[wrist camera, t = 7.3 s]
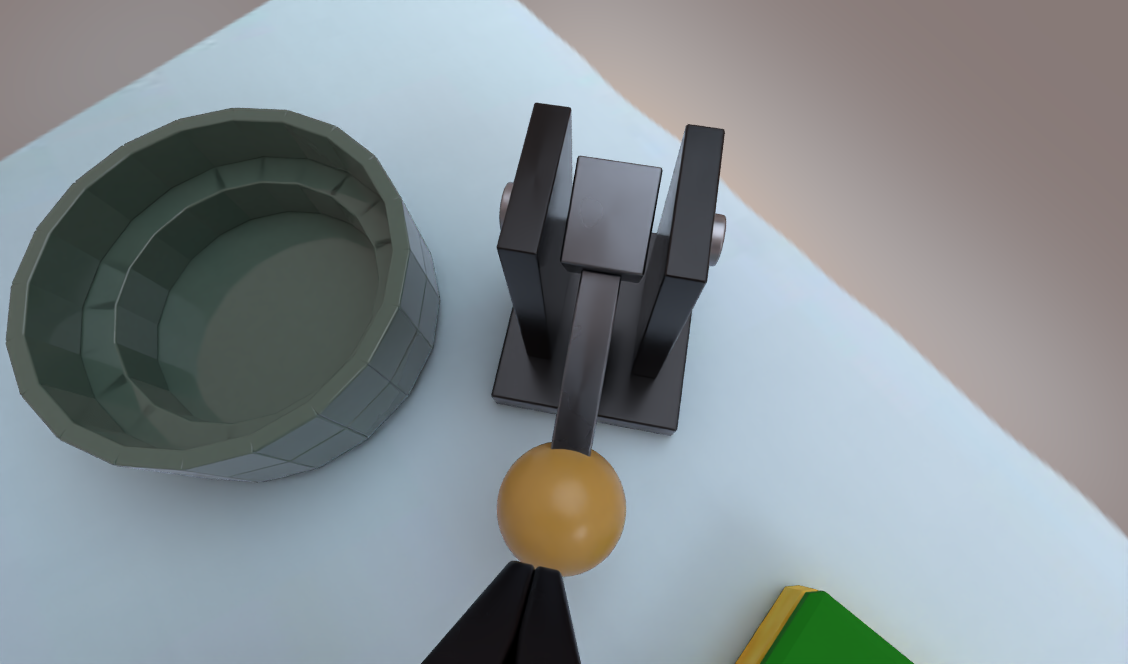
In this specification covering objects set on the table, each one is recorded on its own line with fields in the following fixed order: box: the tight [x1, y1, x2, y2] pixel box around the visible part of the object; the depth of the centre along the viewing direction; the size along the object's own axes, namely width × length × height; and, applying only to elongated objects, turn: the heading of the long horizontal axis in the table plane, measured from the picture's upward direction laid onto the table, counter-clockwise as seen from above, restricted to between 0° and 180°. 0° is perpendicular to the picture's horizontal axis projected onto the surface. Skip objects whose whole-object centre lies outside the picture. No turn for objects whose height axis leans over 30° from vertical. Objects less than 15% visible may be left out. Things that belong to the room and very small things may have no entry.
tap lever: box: [497, 156, 662, 577], centre depth 15 cm, size 11×4×4 cm, turn 169°
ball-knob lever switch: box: [491, 103, 726, 436], centre depth 18 cm, size 8×7×10 cm
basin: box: [6, 108, 440, 482], centre depth 21 cm, size 13×13×5 cm
